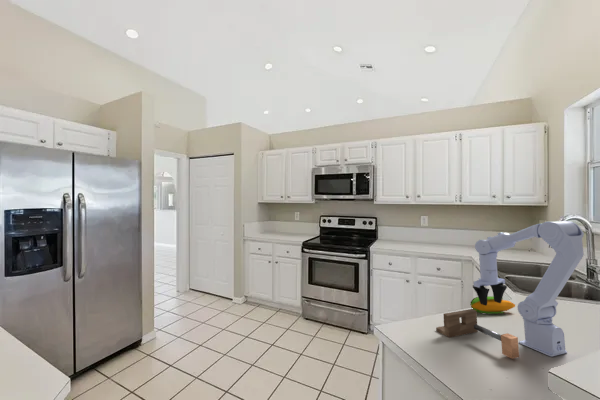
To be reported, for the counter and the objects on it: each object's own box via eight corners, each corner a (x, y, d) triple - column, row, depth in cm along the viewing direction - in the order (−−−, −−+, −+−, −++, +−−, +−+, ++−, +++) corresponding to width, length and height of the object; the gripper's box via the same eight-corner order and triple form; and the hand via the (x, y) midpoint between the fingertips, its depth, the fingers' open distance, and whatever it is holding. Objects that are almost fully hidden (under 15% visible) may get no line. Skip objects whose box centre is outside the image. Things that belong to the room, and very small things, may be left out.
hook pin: (519, 357, 80) (517, 337, 80) (512, 358, 79) (510, 339, 79) (479, 338, 92) (478, 321, 92) (473, 339, 91) (472, 322, 92)
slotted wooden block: (477, 331, 99) (476, 310, 99) (449, 337, 95) (447, 315, 95) (463, 325, 104) (462, 305, 105) (436, 330, 100) (435, 309, 101)
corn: (465, 293, 121) (507, 292, 121) (465, 309, 121) (507, 308, 121) (476, 300, 113) (520, 298, 113) (476, 317, 113) (521, 315, 113)
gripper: (491, 266, 109) (494, 298, 108) (465, 268, 105) (467, 302, 104) (509, 269, 103) (511, 303, 102) (482, 272, 98) (484, 308, 98)
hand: (490, 303), depth 103 cm, fingers open, 7 cm apart
